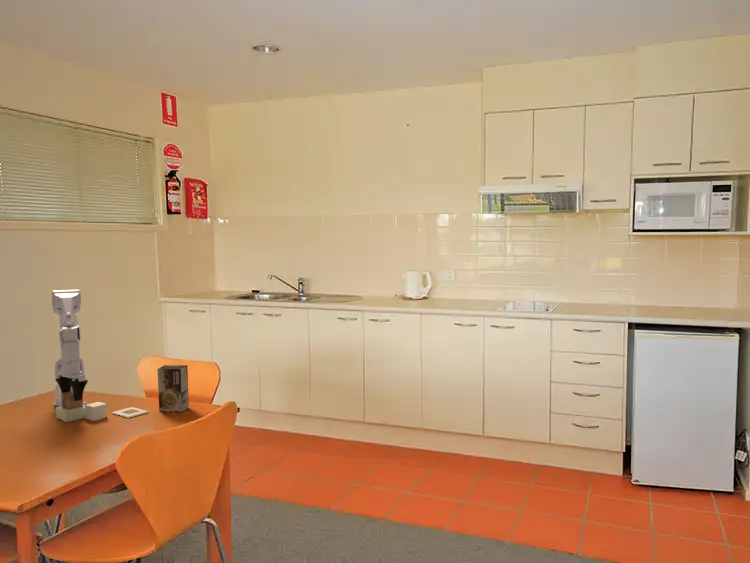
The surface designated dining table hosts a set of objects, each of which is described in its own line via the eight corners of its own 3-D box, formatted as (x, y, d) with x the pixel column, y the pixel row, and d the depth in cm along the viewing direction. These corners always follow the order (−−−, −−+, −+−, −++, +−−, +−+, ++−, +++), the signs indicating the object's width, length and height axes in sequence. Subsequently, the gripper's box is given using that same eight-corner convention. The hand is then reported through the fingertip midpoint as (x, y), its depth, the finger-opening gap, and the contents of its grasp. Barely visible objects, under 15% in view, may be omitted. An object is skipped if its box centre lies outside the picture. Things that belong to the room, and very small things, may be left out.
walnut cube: (61, 407, 210) (61, 393, 209) (75, 403, 214) (75, 390, 213) (69, 409, 207) (68, 395, 206) (83, 406, 211) (82, 392, 210)
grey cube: (85, 418, 208) (85, 404, 208) (99, 415, 212) (98, 401, 212) (93, 421, 205) (92, 407, 205) (107, 417, 210) (106, 403, 209)
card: (112, 413, 214) (112, 411, 214) (132, 408, 220) (131, 406, 220) (128, 418, 208) (128, 416, 208) (148, 412, 215) (148, 411, 215)
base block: (56, 418, 210) (55, 407, 209) (79, 413, 216) (79, 402, 215) (65, 423, 204) (65, 411, 204) (89, 417, 210) (88, 406, 210)
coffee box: (189, 407, 222) (188, 364, 221) (182, 412, 216) (181, 368, 214) (166, 406, 223) (164, 364, 222) (158, 411, 216) (156, 368, 215)
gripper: (93, 361, 208) (94, 399, 209) (70, 356, 216) (72, 393, 217) (73, 364, 202) (74, 403, 203) (51, 359, 210) (52, 397, 211)
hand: (72, 398), depth 210 cm, fingers open, 7 cm apart
